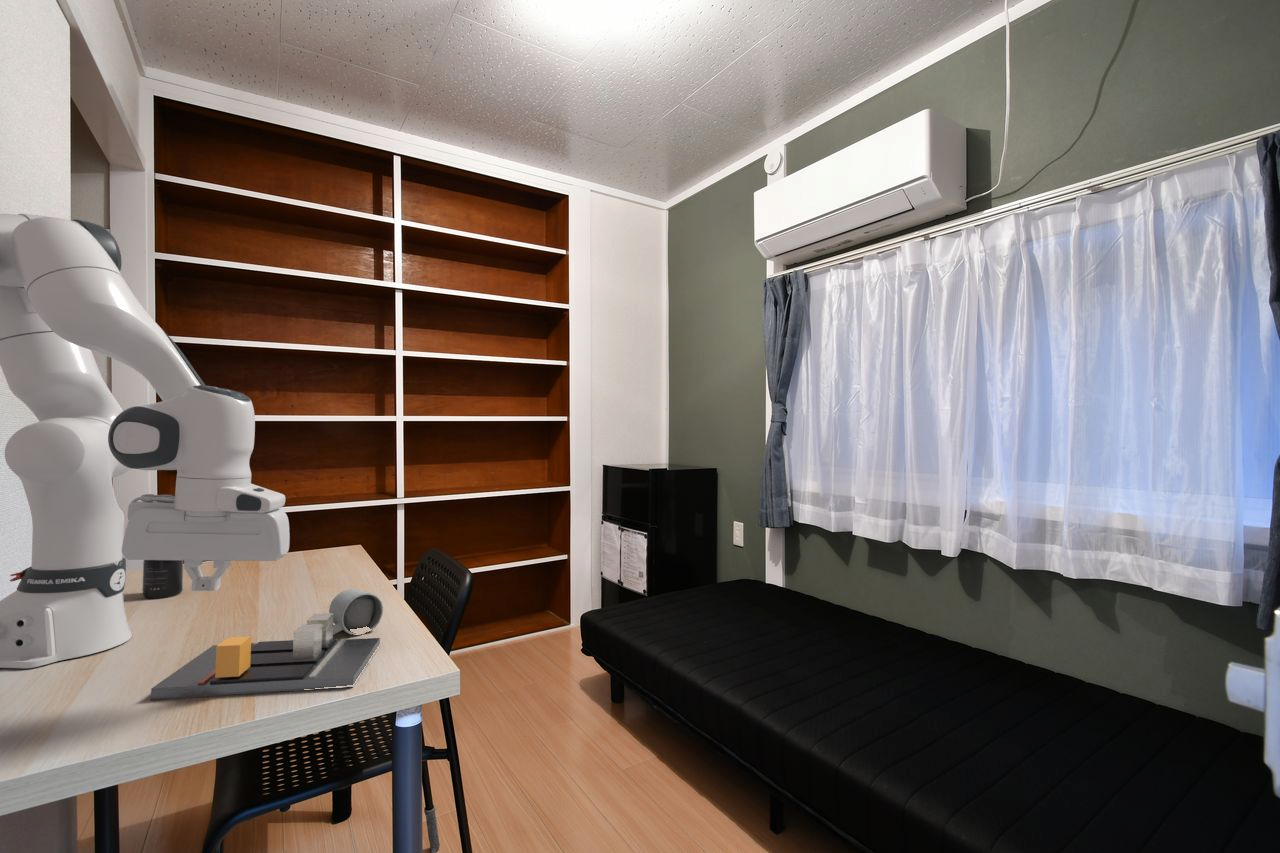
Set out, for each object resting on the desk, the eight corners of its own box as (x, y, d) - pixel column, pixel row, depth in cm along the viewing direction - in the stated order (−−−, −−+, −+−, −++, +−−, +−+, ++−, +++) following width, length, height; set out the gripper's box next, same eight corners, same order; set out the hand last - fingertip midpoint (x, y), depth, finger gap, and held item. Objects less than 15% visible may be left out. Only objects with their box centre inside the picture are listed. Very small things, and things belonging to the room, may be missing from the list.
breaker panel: (150, 700, 77) (152, 653, 78) (212, 654, 93) (214, 615, 93) (353, 687, 83) (354, 643, 83) (379, 646, 99) (381, 610, 99)
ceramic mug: (364, 619, 112) (365, 581, 112) (383, 629, 107) (384, 589, 107) (306, 634, 104) (307, 593, 104) (323, 645, 99) (324, 602, 99)
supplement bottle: (152, 591, 127) (154, 538, 127) (188, 590, 129) (190, 538, 129) (135, 600, 120) (137, 544, 120) (173, 598, 122) (175, 543, 122)
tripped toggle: (215, 677, 80) (216, 646, 80) (227, 667, 83) (228, 637, 83) (238, 676, 80) (240, 645, 80) (250, 666, 84) (251, 636, 84)
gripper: (115, 495, 77) (106, 596, 76) (281, 501, 82) (274, 595, 81) (143, 491, 83) (135, 584, 82) (296, 496, 88) (290, 584, 87)
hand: (205, 590), depth 82 cm, fingers closed
